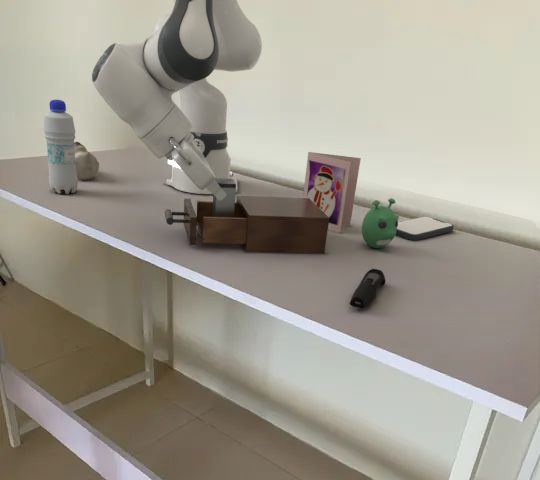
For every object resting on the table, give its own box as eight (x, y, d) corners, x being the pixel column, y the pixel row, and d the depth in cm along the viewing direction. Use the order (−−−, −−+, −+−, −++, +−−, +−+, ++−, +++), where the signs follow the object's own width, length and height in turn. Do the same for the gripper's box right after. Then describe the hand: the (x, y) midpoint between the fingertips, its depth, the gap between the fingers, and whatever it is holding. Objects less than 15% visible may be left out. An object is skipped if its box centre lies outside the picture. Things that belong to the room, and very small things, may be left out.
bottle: (70, 196, 137) (64, 102, 128) (43, 192, 138) (34, 98, 129) (84, 190, 143) (79, 100, 134) (58, 187, 144) (51, 96, 135)
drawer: (167, 244, 111) (167, 216, 109) (163, 223, 123) (163, 197, 120) (265, 247, 115) (267, 219, 113) (252, 226, 127) (254, 201, 124)
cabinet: (246, 252, 114) (248, 215, 111) (234, 229, 127) (236, 195, 123) (324, 253, 118) (329, 217, 114) (305, 231, 130) (309, 198, 127)
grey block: (214, 233, 116) (216, 183, 112) (211, 226, 120) (213, 177, 116) (233, 233, 117) (236, 184, 113) (229, 226, 121) (232, 178, 117)
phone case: (413, 242, 131) (455, 232, 140) (414, 235, 130) (456, 225, 140) (381, 231, 136) (424, 222, 146) (383, 224, 136) (425, 215, 145)
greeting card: (297, 220, 137) (305, 152, 130) (318, 216, 142) (326, 150, 135) (337, 233, 131) (348, 162, 124) (357, 228, 136) (368, 160, 129)
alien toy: (376, 255, 120) (385, 205, 115) (351, 243, 125) (359, 195, 120) (402, 252, 123) (411, 203, 118) (377, 240, 129) (385, 193, 124)
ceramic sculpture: (66, 145, 144) (44, 138, 154) (69, 182, 148) (47, 173, 158) (108, 144, 150) (84, 137, 160) (110, 180, 154) (86, 171, 164)
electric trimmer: (342, 312, 94) (345, 293, 92) (365, 280, 107) (368, 263, 105) (365, 317, 93) (369, 298, 91) (385, 284, 106) (389, 267, 104)
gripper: (186, 130, 99) (240, 193, 106) (177, 114, 116) (224, 168, 123) (158, 157, 100) (214, 217, 107) (153, 137, 117) (202, 189, 124)
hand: (219, 191), depth 115 cm, fingers open, 8 cm apart
